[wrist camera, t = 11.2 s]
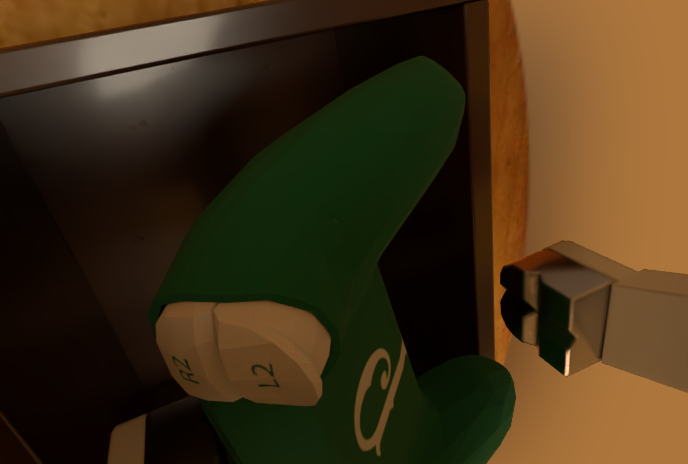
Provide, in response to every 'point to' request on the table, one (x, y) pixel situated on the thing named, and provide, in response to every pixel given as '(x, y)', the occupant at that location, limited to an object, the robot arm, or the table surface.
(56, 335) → the chest
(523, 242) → the table surface
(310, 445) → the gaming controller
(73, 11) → the table surface
